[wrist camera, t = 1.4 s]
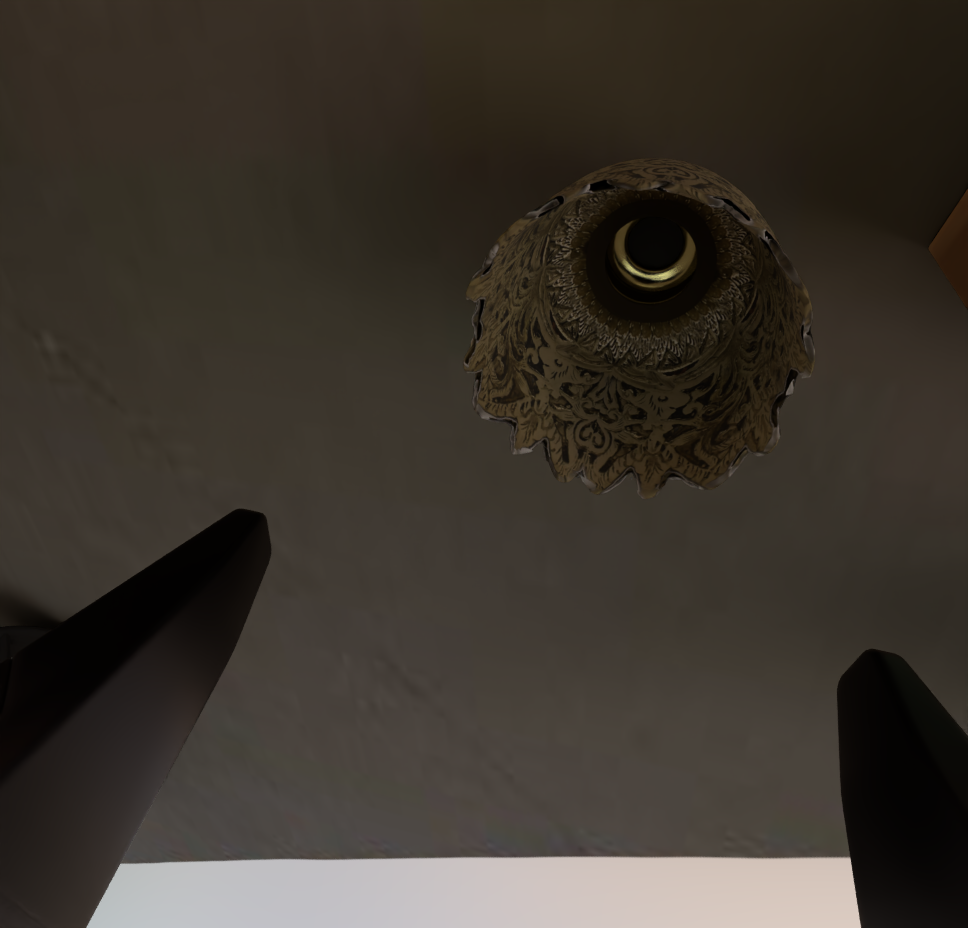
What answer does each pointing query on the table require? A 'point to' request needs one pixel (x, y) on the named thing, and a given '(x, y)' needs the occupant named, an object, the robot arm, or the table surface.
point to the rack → (954, 249)
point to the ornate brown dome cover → (639, 331)
